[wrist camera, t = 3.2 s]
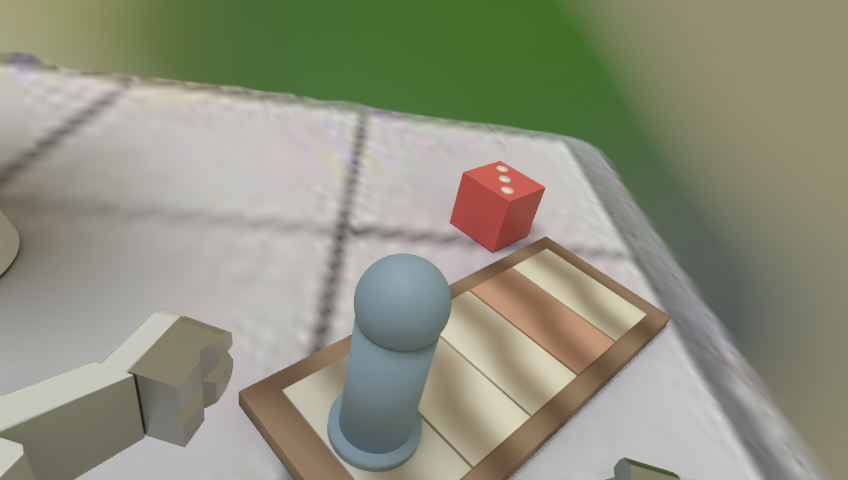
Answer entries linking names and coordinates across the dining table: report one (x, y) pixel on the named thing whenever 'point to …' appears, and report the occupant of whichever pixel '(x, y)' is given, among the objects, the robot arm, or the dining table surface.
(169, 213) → the dining table surface
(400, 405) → the pawn
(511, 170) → the red die
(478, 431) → the game track
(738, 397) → the dining table surface
